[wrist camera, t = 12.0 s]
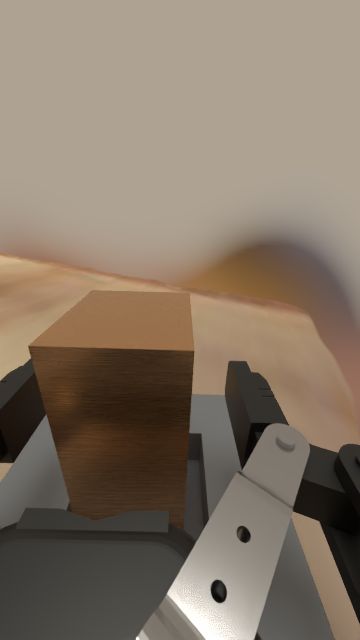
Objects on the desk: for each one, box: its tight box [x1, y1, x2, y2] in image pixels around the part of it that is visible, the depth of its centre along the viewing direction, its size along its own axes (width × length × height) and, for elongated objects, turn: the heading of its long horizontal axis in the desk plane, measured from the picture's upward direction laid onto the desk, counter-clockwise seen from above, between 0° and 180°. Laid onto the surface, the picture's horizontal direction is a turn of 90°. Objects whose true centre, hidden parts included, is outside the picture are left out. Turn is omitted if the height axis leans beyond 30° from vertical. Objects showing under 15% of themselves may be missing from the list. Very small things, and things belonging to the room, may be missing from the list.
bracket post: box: [28, 290, 194, 530], centre depth 10 cm, size 4×4×12 cm
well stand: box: [0, 394, 335, 640], centre depth 12 cm, size 14×14×3 cm
